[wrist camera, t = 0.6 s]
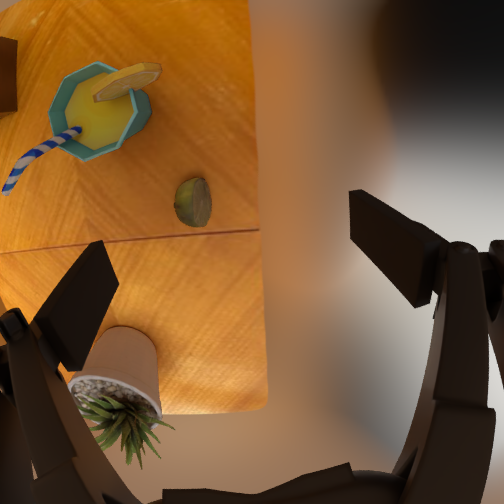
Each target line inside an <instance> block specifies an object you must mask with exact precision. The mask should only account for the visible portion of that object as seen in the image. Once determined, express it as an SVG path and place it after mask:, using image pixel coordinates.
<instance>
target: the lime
mask: <svg viewBox="0 0 504 504" xmlns="http://www.w3.org/2000/svg"><path fill="white" fill-rule="evenodd" d="M211 202H212V201H211V196H210V192H209V187H208V185H207V184H206V182H205V179H203V178H193V179H190V180H187V181H186V182H184V183H183V184H181V185H180V187H179V188H178V190H177V192H176V195H175V203H174V208H175V209H176V210H175V212H176V214H177V217H178V218H179V220H180V221H181V222H182V223H184V224H186V225H188V226H191V227H204V226H206V225H207V222H208V220H209V218H210V214H211V206H212V203H211Z"/></svg>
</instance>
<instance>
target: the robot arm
mask: <svg viewBox="0 0 504 504" xmlns="http://www.w3.org/2000/svg"><path fill="white" fill-rule="evenodd" d="M349 207H350V239H351V240H352V241H353V242H354V243H355V244H356V245H357V246H358V247H359V248H360V249H361V250H362V251H363V252H364V253H365V254H366V256H367V257H368V258H370V260H371V261H372V262H373V263H374V264H375V265H376V266H377V267H378V268H379V269H380V270H381V271H382V272H383V274H384V275H385V276H386V277H387V278H388V279H389V280H390V281H391V282H392V283H393V284H394V286H395V287H396V288H397V289H398V290H399V291H400V292H401V293H402V294H403V296H404V297H405V298H406V299H407V300H408V301H409V302H410V304H411V305H412V306H413V307H414V308H418V307H421V306H424V305H427V304H429V303H430V300H431V295H432V291H434V292H435V293H436V294H437V295H438V299H437V303H436V307H435V311H434V315H433V319H434V326H433V333H432V339H431V345H430V350H429V356H428V361H427V366H426V370H425V375H424V379H423V383H422V388H421V392H420V396H419V399H418V403H417V407H416V410H415V414H414V417H413V420H412V424H411V427H410V430H409V433H408V436H407V439H406V442H405V445H404V448H403V450H402V453H401V455H400V457H399V459H398V461H397V463H396V465H395V467H394V469H393V471H392V473H391V474H390V473H385V472H380V471H370V470H366V471H365V470H363V471H362V470H359V471H352V469H351V466H350V463H349V462H348V463H345V464H342V465H338V466H334V467H331V468H328V469H324V470H320V471H316V472H312V473H308V474H304V475H301V476H299V477H297V478H295V479H293V480H290V481H288V482H286V483H284V484H281V485H279V486H276V487H274V488H272V489H269V490H266V491H264V492H261V493H258V494H243V493H234V492H226V491H219V490H212V489H206V488H205V489H204V488H203V489H163V493H162V499H160V500H157V501H153V502H150V503H148V504H480V503H481V499H482V496H483V492H484V488H485V484H486V480H487V475H488V470H489V465H490V460H491V454H492V448H493V441H494V433H495V425H496V412H495V410H494V408H488V406H487V399H488V381H489V340H488V334H489V337H490V340H491V343H492V346H493V350H494V353H495V356H496V360H497V364H498V367H499V371H500V375H501V379H502V384H503V388H504V240H493V241H491V243H490V247H489V252H478V250H477V249H476V248H475V247H474V246H473V245H471V244H469V243H466V242H461V241H455V242H451V243H450V242H448V241H447V240H445V239H444V238H443V237H441V236H440V235H438V234H437V233H435V232H434V231H432V230H431V229H430V230H429V228H428V227H426V226H425V225H423V224H421V223H419V222H416V221H413V220H411V219H409V218H407V217H406V216H405V215H403V214H401V213H400V212H398V211H397V210H395V209H394V208H392V207H390V206H389V205H387V204H385V203H384V202H382V201H381V200H379V199H377V198H376V197H374V196H372V195H370V194H368V193H367V192H365V191H364V190H362V189H361V190H353V191H349ZM118 286H119V282H118V279H117V277H116V275H115V272H114V270H113V267H112V264H111V262H110V259H109V257H108V254H107V251H106V249H105V246H104V243H103V240H100V241H96V242H92V243H90V244H89V245H88V247H87V248H86V249H85V250H84V251H83V253H82V254H81V255H80V256H79V257H78V259H77V260H76V261H75V262H74V264H73V265H72V266H71V268H70V269H69V270H68V271H67V273H66V274H65V275H64V277H63V278H62V279H61V280H60V282H59V283H58V284H57V286H56V287H55V288H54V290H53V291H52V293H51V294H50V295H49V297H48V298H47V300H46V301H45V302H44V304H43V305H42V307H41V308H40V309H39V311H38V312H37V314H36V315H35V317H34V318H33V320H32V321H31V323H30V324H28V322H27V321H26V319H25V317H24V316H23V314H22V312H21V310H20V309H19V308H13V309H10V310H8V311H7V312H5V313H4V314H3V315H2V316H1V317H0V333H1V334H2V336H3V338H4V339H5V341H6V342H7V344H6V345H3V346H0V389H1V390H2V392H1V391H0V504H142V503H141V502H140V501H139V500H138V499H137V498H136V497H135V496H134V495H133V494H132V493H131V492H130V490H129V489H128V488H127V486H126V485H125V484H124V482H123V481H122V480H121V478H120V477H119V475H118V474H117V473H116V471H115V470H114V468H113V467H112V465H111V464H110V462H109V461H108V459H107V458H106V456H105V454H104V453H103V451H102V450H101V448H100V446H99V445H98V443H97V441H96V440H95V438H94V436H93V435H92V433H91V431H90V429H89V428H88V426H87V424H86V422H85V421H84V419H83V417H82V415H81V413H80V411H79V409H78V407H77V405H76V403H75V401H74V399H73V397H72V395H71V393H70V391H69V389H68V386H67V384H66V382H65V380H64V377H63V375H62V373H61V372H60V371H59V369H58V365H59V363H60V361H61V363H62V364H63V366H64V367H65V368H66V370H67V371H68V372H72V371H82V369H83V367H84V364H85V362H86V359H87V357H88V354H89V351H90V349H91V347H92V344H93V342H94V339H95V337H96V334H97V332H98V330H99V327H100V325H101V323H102V321H103V318H104V316H105V314H106V312H107V309H108V307H109V305H110V303H111V301H112V298H113V296H114V294H115V292H116V290H117V288H118ZM31 460H32V463H33V466H34V468H35V471H36V474H37V477H38V478H37V479H35V480H34V479H33V471H32V463H31Z"/></svg>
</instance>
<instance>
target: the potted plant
mask: <svg viewBox="0 0 504 504" xmlns="http://www.w3.org/2000/svg"><path fill="white" fill-rule="evenodd" d="M68 389H69V391H70V393H71V395H72V397H73V399H74V401H75V403H76V405H77V407H78V409H79V411H80V413H81V415H82V417H83V418H87V419H90V420H91V421H93V422H95V423H97V424H99V425H98V426H96V427H92V428H89V429H90V431H95V430H101V429H105V430H104V431H103V433H102V434H101V435H100V436H98V437H96V438H95V440H96V441H97V443H100V442H102V441H104V440H105V439H106V440H105V441H104V442H103V443H102V444H101V445H100V448H101V447H102V448H101V450H102V451H104V450H105V449H107V448H108V447H110V446H112V444H113V443H114V442H115V441H116V440H117V439H118V437H119V436H120V434H122V439H121V451H122V450H123V446H124V444H125V450H126V463H127V464H128V465H129V464H131V460H132V455H133V453H136V454H137V457H138V460H139V463H140V466H141V469H142V461H141V454H140V448H141V447H142V450H143V452H144V454H145V451H144V448H143V445H142V444H143V440H144V441H145V442H146V444H147V445H148V446H149V447H150V448H151V449H152V450H153V452H155V454H156V455H157V456H158V457H159V458H160V459H161V457H160V456H159V455H158V453H157V452H156V450H155V449H154V447H153V446H152V444H151V442H150V440H149V439H148V437H147V435H146V433H145V432H147V433H148V434H150V435H151V436H152V437H153V438H155V439H156V440H157V441H158V442H159V443H160V441H159V440H158V438H157V437H156V436H155V435H154V434H153V432H152V431H151V429H153V428H155V427H157V426H158V425H159V424H162V425H165V426H169V427H170V428H172V429H174V428H173V427H171V426H170V425H168V424H166V423H164V422H162V421H161V420H162V409H161V401H160V398H159V384H158V367H157V354H156V349H155V346H154V344H153V343H152V341H151V340H150V339H149V338H148V337H147V336H146V335H144V334H143V333H141V332H140V331H138V330H135V329H133V328H128V327H113V328H110V329H108V330H106V331H105V332H104V333H103V335H102V336H101V337H100V338H99V339H98V341H97V342H96V344H95V345H94V347H93V348H92V350H91V351H90V353H89V355H88V357H87V359H86V362H85V364H84V367H83V369H82V371H77V372H76V373H75V374H74V375H73V377H72V378H71V380H70V382H69V383H68ZM174 430H175V429H174ZM138 441H139V442H138Z"/></svg>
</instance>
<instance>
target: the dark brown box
mask: <svg viewBox="0 0 504 504" xmlns="http://www.w3.org/2000/svg"><path fill="white" fill-rule="evenodd" d="M16 58H17V40H13V39H9V38H4V37H0V119H1V118H3V117H5V116H8V115H10V114H12V113H14V112H16V111H17V94H16Z"/></svg>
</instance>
